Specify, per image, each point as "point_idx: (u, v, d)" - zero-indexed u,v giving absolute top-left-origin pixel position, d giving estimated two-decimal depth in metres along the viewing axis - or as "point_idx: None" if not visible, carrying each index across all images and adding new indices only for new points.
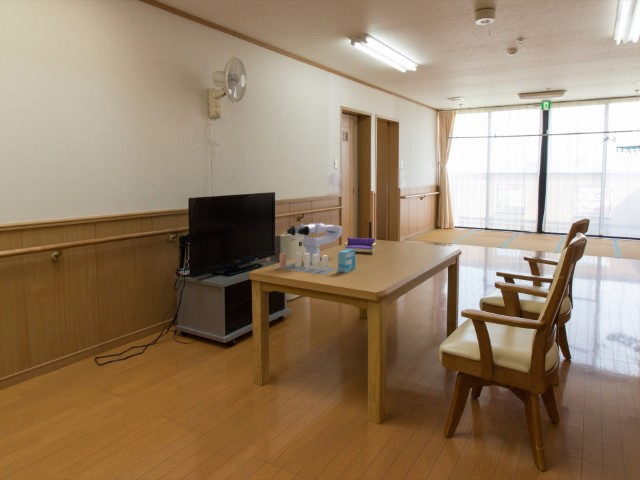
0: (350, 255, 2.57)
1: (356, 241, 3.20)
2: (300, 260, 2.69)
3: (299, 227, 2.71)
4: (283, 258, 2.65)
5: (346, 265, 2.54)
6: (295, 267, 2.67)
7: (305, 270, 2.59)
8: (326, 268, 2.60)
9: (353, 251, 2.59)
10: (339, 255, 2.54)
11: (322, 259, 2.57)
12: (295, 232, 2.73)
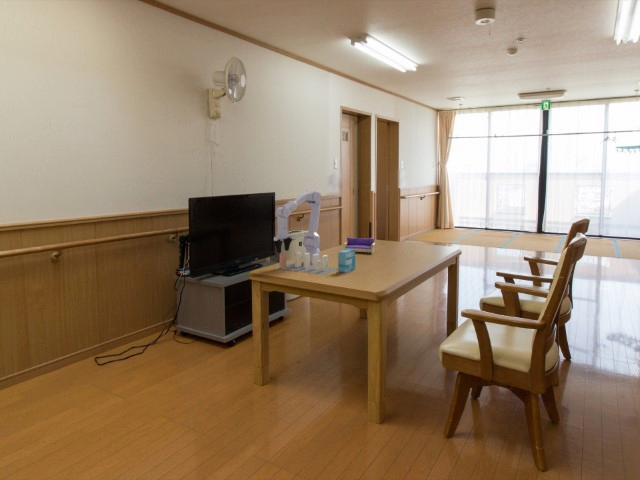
0: (350, 255, 2.57)
1: (356, 241, 3.20)
2: (300, 260, 2.69)
3: None
4: (283, 258, 2.65)
5: (346, 265, 2.54)
6: (295, 267, 2.67)
7: (305, 270, 2.59)
8: (326, 268, 2.60)
9: (353, 251, 2.59)
10: (339, 255, 2.54)
11: (322, 259, 2.57)
12: (288, 236, 2.67)
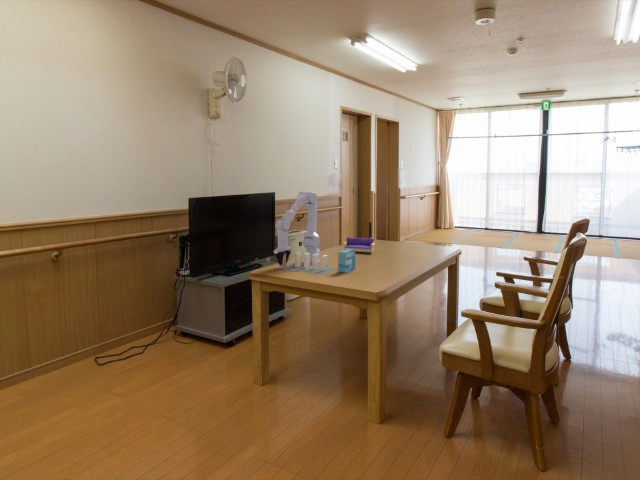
0: (350, 255, 2.57)
1: (355, 241, 3.20)
2: (300, 260, 2.69)
3: None
4: (283, 258, 2.65)
5: (346, 265, 2.54)
6: (295, 267, 2.67)
7: (305, 270, 2.59)
8: (326, 268, 2.60)
9: (353, 251, 2.59)
10: (339, 255, 2.54)
11: (322, 259, 2.57)
12: (288, 248, 2.68)
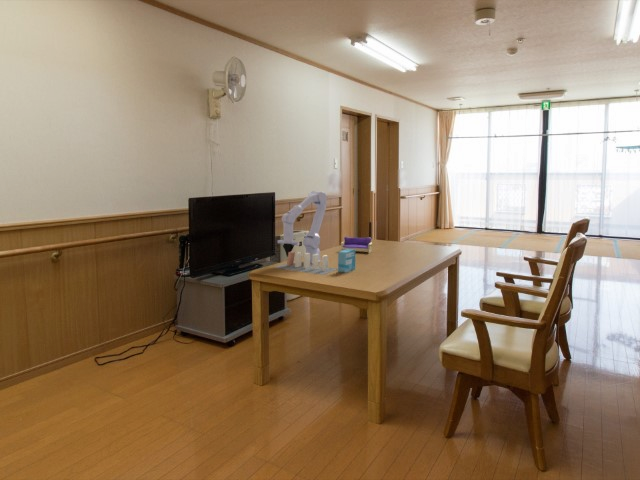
0: (350, 255, 2.57)
1: (353, 240, 3.22)
2: (300, 260, 2.69)
3: (284, 242, 2.70)
4: (291, 256, 2.70)
5: (346, 265, 2.54)
6: (295, 267, 2.67)
7: (305, 270, 2.59)
8: (326, 268, 2.60)
9: (353, 251, 2.59)
10: (339, 255, 2.54)
11: (322, 259, 2.57)
12: None
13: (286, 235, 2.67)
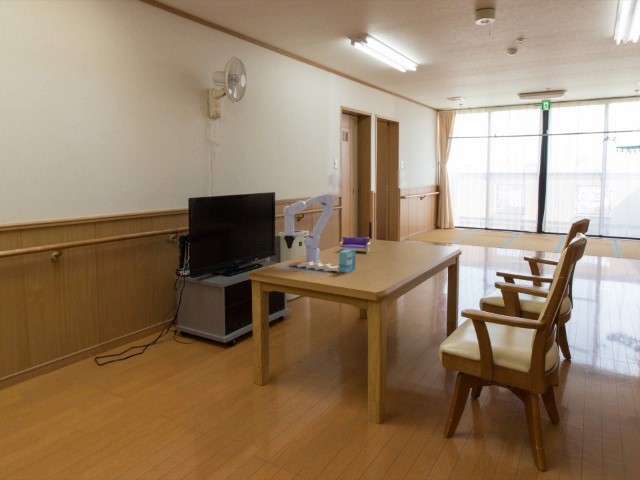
0: (351, 255, 2.57)
1: (351, 240, 3.23)
2: None
3: (286, 234, 2.74)
4: None
5: (347, 265, 2.54)
6: (295, 267, 2.67)
7: (305, 270, 2.59)
8: None
9: (353, 251, 2.59)
10: (340, 255, 2.53)
11: (334, 268, 2.54)
12: None
13: (287, 227, 2.71)
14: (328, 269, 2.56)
